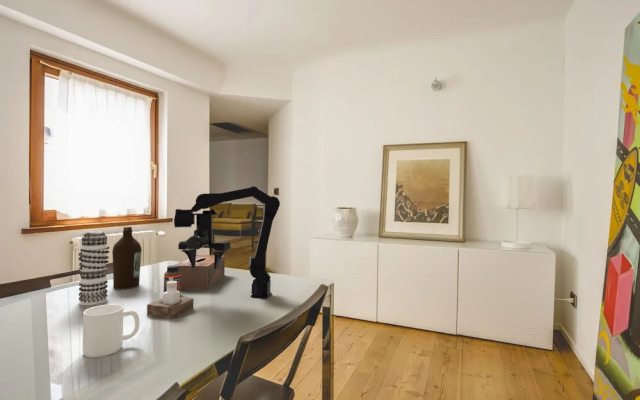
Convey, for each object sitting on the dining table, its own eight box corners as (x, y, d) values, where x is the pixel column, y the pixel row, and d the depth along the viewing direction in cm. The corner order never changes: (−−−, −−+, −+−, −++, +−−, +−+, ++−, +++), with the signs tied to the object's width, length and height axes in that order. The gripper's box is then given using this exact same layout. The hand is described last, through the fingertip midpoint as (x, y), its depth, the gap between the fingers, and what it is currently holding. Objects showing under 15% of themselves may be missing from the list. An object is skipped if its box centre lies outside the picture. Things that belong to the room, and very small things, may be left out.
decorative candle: (111, 301, 119) (113, 232, 119) (80, 307, 112) (82, 233, 112) (104, 296, 125) (106, 230, 125) (74, 301, 119) (76, 231, 119)
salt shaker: (180, 309, 111) (181, 281, 111) (172, 313, 108) (172, 283, 108) (170, 308, 112) (170, 280, 112) (161, 311, 109) (162, 282, 109)
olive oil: (107, 290, 133) (108, 228, 133) (117, 283, 144) (118, 226, 143) (136, 289, 135) (137, 228, 135) (144, 282, 146) (145, 226, 146)
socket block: (193, 310, 114) (193, 298, 114) (173, 320, 104) (173, 307, 104) (168, 307, 116) (168, 295, 116) (146, 317, 106) (147, 304, 106)
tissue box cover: (195, 275, 163) (195, 255, 163) (224, 275, 163) (224, 255, 163) (172, 289, 137) (172, 265, 137) (207, 290, 137) (207, 266, 137)
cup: (83, 347, 83) (83, 307, 83) (137, 337, 90) (138, 300, 90) (81, 361, 76) (82, 317, 76) (140, 349, 83) (141, 308, 83)
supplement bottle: (173, 298, 125) (174, 268, 125) (160, 296, 126) (160, 267, 126) (183, 293, 131) (184, 265, 131) (170, 292, 132) (170, 264, 132)
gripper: (168, 228, 119) (168, 271, 119) (216, 229, 115) (216, 274, 115) (187, 225, 129) (187, 265, 130) (231, 226, 126) (231, 267, 126)
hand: (204, 268), depth 125 cm, fingers open, 9 cm apart
